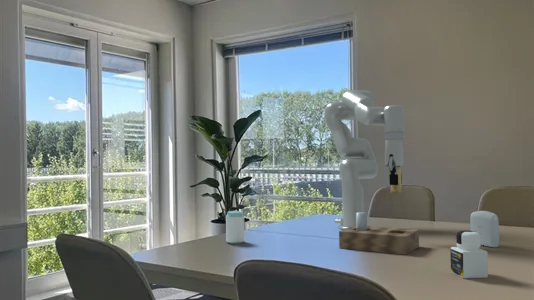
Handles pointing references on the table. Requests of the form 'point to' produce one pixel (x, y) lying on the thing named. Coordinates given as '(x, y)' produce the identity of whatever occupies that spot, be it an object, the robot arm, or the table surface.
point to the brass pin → (398, 187)
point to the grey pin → (361, 221)
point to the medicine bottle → (469, 256)
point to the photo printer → (486, 227)
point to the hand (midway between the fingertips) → (395, 184)
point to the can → (234, 227)
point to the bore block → (380, 239)
